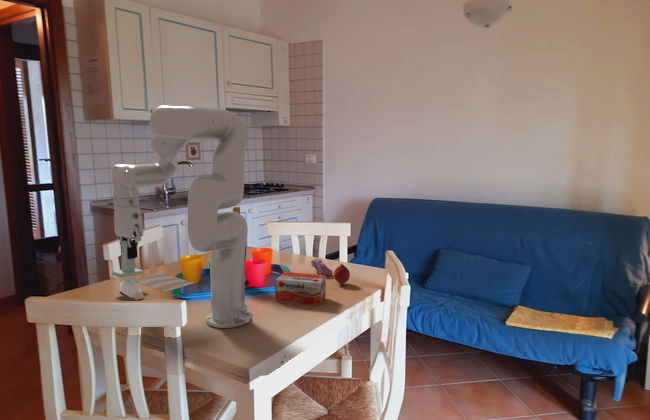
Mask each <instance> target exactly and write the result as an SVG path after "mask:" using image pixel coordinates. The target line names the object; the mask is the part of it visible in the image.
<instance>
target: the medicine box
mask: <svg viewBox="0 0 650 420" xmlns="http://www.w3.org/2000/svg"><path fill="white" fill-rule="evenodd" d="M326 281H327V278H326V274H323V275H321V274H315V273H303V272H289V271H283V272H282V273H281V274H280V275H279V276H278V277H277V278H276V279H275V289H274V292H275V293H274V294H275V297H274V298H275V301H276V303H287V304H294V305H305V306H314V307H316V306H317V307H321V305H322V303H323V301H324V300H325V298H326V292H327V283H326Z"/></svg>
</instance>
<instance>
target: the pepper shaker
mask: <svg viewBox="0 0 650 420" xmlns="http://www.w3.org/2000/svg"><path fill="white" fill-rule="evenodd" d="M133 280H134V279H132V278H125V279H123V280H122V281H121V282H120V283H119V285H118V286H119V288H118V289H119V292H120V293H123V294H124V295H125V296H127V297H128V298H130V299H134V300H135V301H137V300H143V299H144V294H143V291H142V289H141V288H140V287H139V285H138V284H137V282H135V281H133Z"/></svg>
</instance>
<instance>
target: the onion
mask: <svg viewBox="0 0 650 420" xmlns="http://www.w3.org/2000/svg"><path fill="white" fill-rule="evenodd" d="M350 276H351V274H350V269H349V268H347V266H346V265H344V263H342V262H341V263H340V265H338V266H337V267H336V268H335V269H334V272H333V278H334V279H335V281H336V282H337V283H338V284H339V285H341V286H342V285H344V284H346V283H347V282H349V279H350Z"/></svg>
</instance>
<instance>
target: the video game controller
mask: <svg viewBox="0 0 650 420" xmlns="http://www.w3.org/2000/svg"><path fill="white" fill-rule="evenodd" d="M310 263H311V264H310V265H311V267H312V268H314V270H315V271H316V272H317V274H318V273H319V275H325V276H328V277H330V276H333V275H334V272H333V271H332V269H330V268H329V267H328V266H327V265H326V264H325V263H324V262H323V260H322V259H319V258H315V259H312V260H311V262H310Z"/></svg>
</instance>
